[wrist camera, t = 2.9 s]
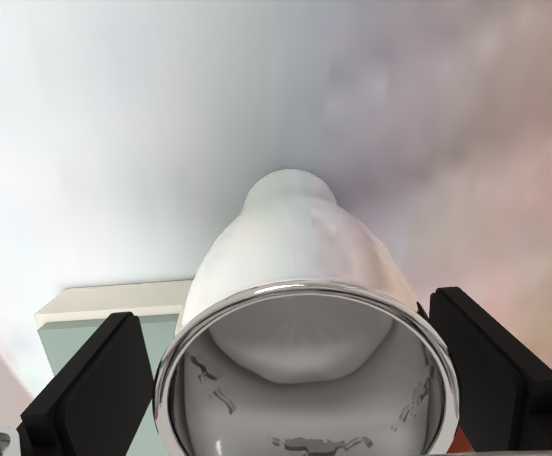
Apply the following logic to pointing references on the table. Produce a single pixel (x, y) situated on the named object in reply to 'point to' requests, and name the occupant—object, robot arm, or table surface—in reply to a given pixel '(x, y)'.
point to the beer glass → (303, 341)
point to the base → (93, 312)
